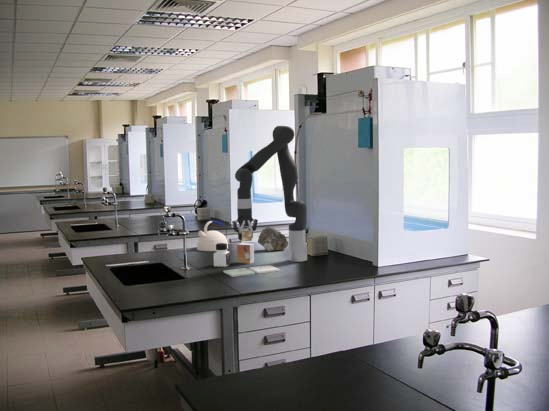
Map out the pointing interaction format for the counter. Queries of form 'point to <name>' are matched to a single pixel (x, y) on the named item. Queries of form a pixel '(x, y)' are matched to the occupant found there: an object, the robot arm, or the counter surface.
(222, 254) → the medicine bottle
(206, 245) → the kettle
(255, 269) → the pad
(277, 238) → the rock
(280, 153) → the robot arm
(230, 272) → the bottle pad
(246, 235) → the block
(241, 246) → the small box
